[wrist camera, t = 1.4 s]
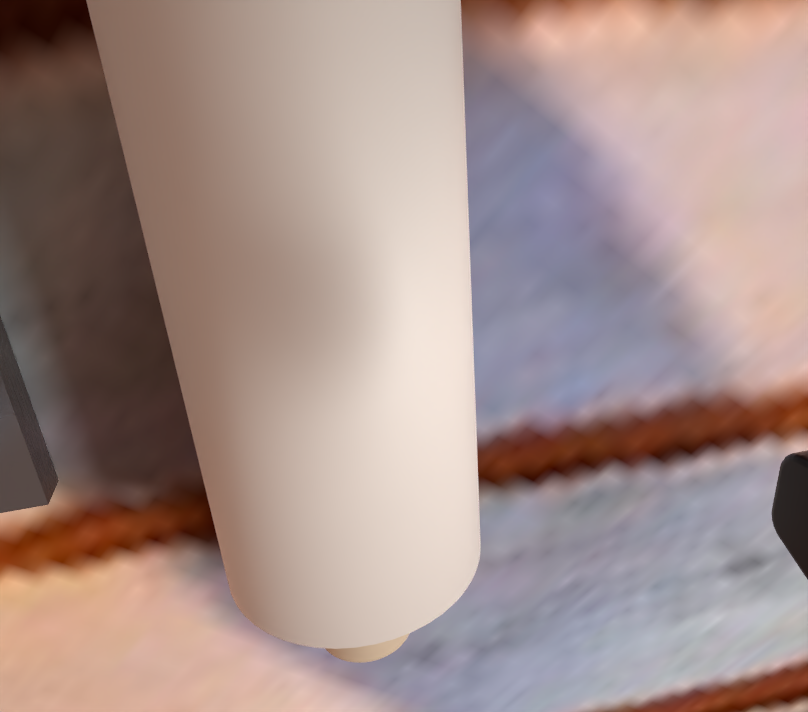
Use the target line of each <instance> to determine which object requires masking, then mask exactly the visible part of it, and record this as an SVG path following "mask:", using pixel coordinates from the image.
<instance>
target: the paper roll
mask: <svg viewBox="0 0 808 712" xmlns="http://www.w3.org/2000/svg"><path fill="white" fill-rule="evenodd" d="M86 2H87V6H88V10H89V14H90V18H91V22H92V26H93V30H94V35H95V39H96V43H97V47H98V51H99V55H100V59H101V63H102V67H103V71H104V76H105V80H106V84H107V88H108V92H109V96H110V100H111V104H112V108H113V112H114V117H115V121H116V125H117V129H118V133H119V137H120V141H121V145H122V149H123V153H124V158H125V162H126V166H127V170H128V174H129V178H130V182H131V186H132V190H133V194H134V198H135V203H136V207H137V211H138V215H139V219H140V223H141V227H142V231H143V235H144V239H145V244H146V248H147V252H148V256H149V260H150V264H151V268H152V272H153V276H154V280H155V285H156V289H157V293H158V297H159V301H160V305H161V309H162V313H163V317H164V321H165V326H166V330H167V334H168V338H169V342H170V346H171V350H172V354H173V358H174V362H175V367H176V371H177V375H178V379H179V383H180V387H181V391H182V395H183V399H184V403H185V407H186V412H187V416H188V420H189V424H190V428H191V432H192V436H193V440H194V444H195V448H196V453H197V457H198V461H199V465H200V469H201V473H202V477H203V481H204V485H205V489H206V494H207V498H208V502H209V506H210V510H211V514H212V518H213V522H214V526H215V530H216V535H217V539H218V543H219V547H220V551H221V555H222V559H223V563H224V567H225V571H226V576H227V580H228V584H229V587H230V591H231V595H232V597H233V599H234V601H235V603H236V605H237V606H238V608H239V609H240V610H241V612H242V613H243V614H244V616H245V617H247V618H248V619H249V620H250V621H251V622H252V623H253V624H254V625H256V626H257V627H259V628H260V629H262V630H263V631H265V632H267V633H268V634H270V635H273V636H275V637H277V638H279V639H282V640H284V641H288V642H291V643H295V644H298V645H303V646H309V647H315V648H325V649H326V650H327V651H328V652H329V653H330V654H332V655H333V656H335V657H337V658H339V659H342V660H345V661H350V662H369V661H374V660H378V659H381V658H383V657H386V656H387V655H389V654H391V653H393V652H394V651H396V650H397V649H398V648H399V647H400V646H401V645H402V644H403V643H404V642H405V640H406V639H407V637H408V635H409V633H411V632H413V631H415V630H417V629H419V628H421V627H423V626H425V625H427V624H428V623H430V622H431V621H433V620H434V619H436V618H437V617H439V616H440V615H442V614H443V613H444V612H445V611H446V610H447V609H449V608H450V607H451V606H452V605H453V604H454V603H455V602H456V601H457V600H458V599H459V598H460V596H461V595H462V594H463V593H464V592H465V590H466V589H467V587H468V586H469V584H470V582H471V581H472V579H473V577H474V574H475V572H476V570H477V567H478V563H479V558H480V517H479V490H478V462H477V435H476V407H475V380H474V352H473V325H472V298H471V270H470V243H469V215H468V188H467V160H466V133H465V105H464V78H463V51H462V23H461V0H86Z"/></svg>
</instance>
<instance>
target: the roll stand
mask: <svg viewBox="0 0 808 712" xmlns="http://www.w3.org/2000/svg"><path fill="white" fill-rule="evenodd" d="M57 483H58V478H57V475H56V472H55V470H54V467H53V464H52V461H51V458H50V455H49V453H48V450H47V447H46V444H45V441H44V438H43V436H42V433H41V430H40V427H39V424H38V421H37V419H36V416H35V413H34V410H33V407H32V404H31V402H30V399H29V396H28V393H27V390H26V388H25V385H24V382H23V379H22V376H21V373H20V371H19V368H18V365H17V362H16V359H15V356H14V354H13V351H12V348H11V345H10V342H9V339H8V337H7V334H6V331H5V328H4V325H3V322H2V320H1V317H0V513H3V512H9V511H14V510H20V509H26V508H31V507H37V506H43V505H48V504H49V502H50V499H51V497H52V495H53V492H54V490H55V488H56V485H57Z"/></svg>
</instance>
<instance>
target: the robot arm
mask: <svg viewBox="0 0 808 712" xmlns="http://www.w3.org/2000/svg"><path fill="white" fill-rule="evenodd" d="M772 521H773V524H774V527H775V530H776V532H777V534H778V536H779V537H780V539H781V540H782V542H783V543H784V545H785V546H786V548H787V549H788V551H789V552H790V554H791V555H792V557H793V558H794V560H795V561H796V563H797V564H798V566H799V567H800V569H801V570H802V572H803V573H804V575H805V576H806V578H807V579H808V451H802V452H797V453H792V454H790V455H788V456H786V457H785V459H784V460H783V462H782V463H781V466H780V471H779V476H778V482H777V487H776V492H775V497H774V502H773V508H772Z"/></svg>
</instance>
